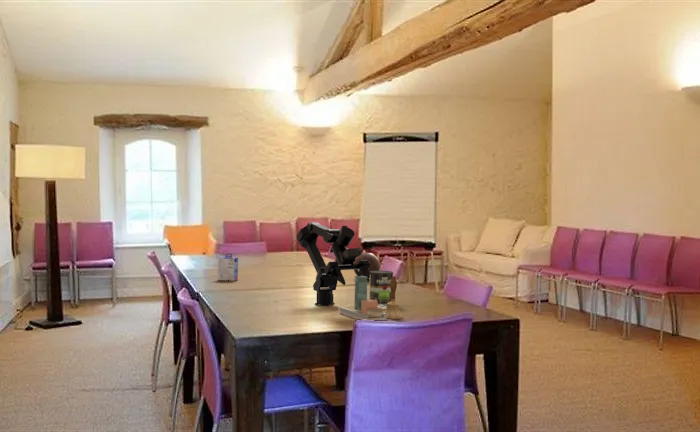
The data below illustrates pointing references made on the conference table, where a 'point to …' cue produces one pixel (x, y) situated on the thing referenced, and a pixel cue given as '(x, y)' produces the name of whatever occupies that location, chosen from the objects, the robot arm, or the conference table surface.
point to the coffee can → (380, 286)
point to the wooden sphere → (373, 261)
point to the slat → (364, 297)
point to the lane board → (360, 314)
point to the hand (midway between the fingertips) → (354, 283)
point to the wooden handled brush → (393, 302)
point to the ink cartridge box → (228, 268)
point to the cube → (368, 305)
